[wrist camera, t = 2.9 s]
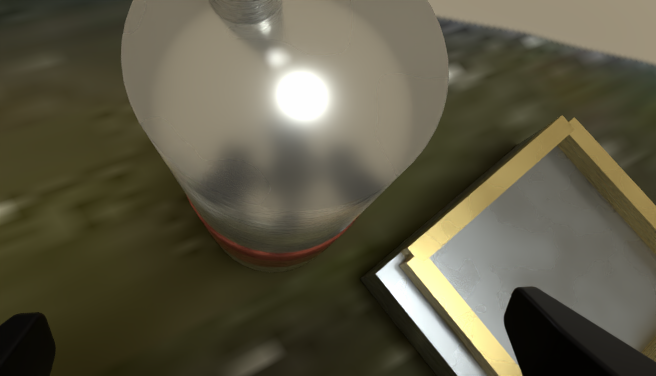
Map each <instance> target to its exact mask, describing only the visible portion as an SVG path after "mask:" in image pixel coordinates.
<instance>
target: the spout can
mask: <svg viewBox="0 0 656 376" xmlns="http://www.w3.org/2000/svg"><path fill="white" fill-rule="evenodd" d="M121 64H122V72H123V79H124V84H125V88H126V91H127V95H128V98H129V101H130V104H131V106H132V108H133V110H134V113H135V115H136V117H137V119H138V121H139V123H140V125H141V126H142V128H143V129H144V131H145V132H146V134H147V135H148V137H149V138H150V140H151V141H152V143H153V144H154V146H155V147H156V149H157V150H158V152H159V154H160V155H161V157H162V158H163V160H164V161H165V163H166V164H167V166H168V167H169V169H170V170H171V172H172V173H173V175H174V176H175V178H176V179H177V181H178V183H179V184H180V186H181V187H182V189H183V190H184V192H185V193H186V195H187V198H188V200H189V202H190V204H191V206H192V207H193V209H194V210H195V212H196V213H197V215H198V216H199V218H200V219H201V221H202V222H203V224H204V225H205V227H206V228H207V230H208V231H209V232H210V234H211V235H212V237H213V238H214V239H215V240H216V241H217V243H218V244H219V245H220V247H221V248H222V249H223V250H224V251H225V252H226V253H227V254H228V255H229V256H230V257H231V258H232V259H234V260H235V261H237V262H238V263H240V264H242V265H244V266H246V267H248V268H251V269H254V270H257V271H262V272H274V273H275V272H285V271H289V270H293V269H296V268H299V267H301V266H303V265H305V264H307V263H309V262H310V261H311V260H313V259H314V258H316V257H317V256H318V255H319V254H320V253H322V252H323V251H324V250H326V249H327V248H328V247H329V246H330V245H331V244H332V243H333V242H334V241H335V240H336V239H337V238H338V237H339V236H340V235H341V234H342V233H344V232H345V231H346V230H347V229H348V228H349V227H350V226H351V225H352V224H353V222H354V221H355V220H356V219H357V218H358V216H359V215H360V214H361V213H362V212H363V211H364V210H365V209H366V208H367V207H368V206H369V205H370V204H371V203H372V202H373V201H374V200H375V199H376V198H377V197H378V196H379V195H380V194H381V193H382V192H383V191H384V190H385V189H386V188H387V187H388V186H389V185H390V184H391V183H392V182H393V181H394V180H395V179H396V178H397V177H398V176H399V175H400V174H401V173H402V172H403V171H404V170H405V169H406V168H407V167H408V166H409V165H410V164H411V163H412V162H413V161H414V160H415V159H416V158H417V156H418V155H419V154H420V153H421V152H422V150H423V149H424V148H425V147H426V145H427V143H428V142H429V140H430V138H431V137H432V135H433V133H434V132H435V130H436V127H437V125H438V123H439V120H440V118H441V115H442V113H443V109H444V105H445V101H446V97H447V89H448V79H449V71H448V56H447V50H446V45H445V40H444V37H443V34H442V31H441V28H440V24H439V22H438V20H437V18H436V16H435V14H434V11H433V9H432V7H431V6H430V4H429V2H428V1H427V0H133V2H132V4H131V7H130V10H129V13H128V16H127V19H126V22H125V26H124V32H123V37H122V48H121Z"/></svg>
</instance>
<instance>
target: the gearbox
mask: <svg viewBox="0 0 656 376" xmlns="http://www.w3.org/2000/svg"><path fill="white" fill-rule="evenodd" d="M360 280H361V281H362V282H363V284H364V285H365V286H366V287H367V289H368V290H369V291H370V292H371V294H372V295H373V296H374V297H375V299H376V300H377V301H378V302H379V304H380V305H381V306H382V307H383V309H384V310H385V311H386V312H387V314H388V315H389V316H390V317H391V319H392V320H393V321H394V323H395V324H396V325H397V326H398V328H399V329H400V330H401V331H402V333H403V334H404V335H405V336H406V338H407V339H408V340H409V341H410V343H411V344H412V345H413V346H414V348H415V349H416V350H417V351H418V353H419V354H420V355H421V356H422V358H423V359H424V360H425V361H426V363H427V364H428V365H429V366H430V368H431V369H432V370H433V371H434V373H435V374H436V375H437V376H522V373H521V370H520V367H519V365H518V362H517V359H516V357H515V354H514V351H513V349H512V346H511V343H510V340H509V338H508V335H507V332H506V330H505V326H504V313H505V310H506V308H507V305H508V302H509V299H510V296H511V294H512V291H513V290H514V289H515V288H517V287H528V286H533V287H537V288H538V289H540V290H542V291H543V292H545V293H547V294H548V295H550V296H551V297H553V298H555V299H556V300H558V301H559V302H561V303H563V304H564V305H566V306H567V307H569V308H571V309H572V310H574V311H575V312H577V313H579V314H580V315H582V316H583V317H585V318H587V319H588V320H590V321H591V322H593V323H595V324H596V325H598V326H599V327H601V328H603V329H604V330H606V331H607V332H609V333H611V334H612V335H614V336H615V337H617V338H619V339H620V340H622V341H623V342H625V343H627V344H628V345H630V346H631V347H633V348H635V349H636V350H638V351H639V352H641V353H643V354H644V355H646V356H647V357H649V358H651V359H652V360H654V361H655V362H656V206H655V205H654V204H653V202H652V201H651V200H650V199H649V198H648V197H647V196H646V195H645V194H644V193H643V192H642V190H641V189H640V188H639V187H638V186H637V185H636V184H635V183H634V182H633V181H632V180H631V178H630V177H629V176H628V175H627V174H626V173H625V172H624V171H623V170H622V169H621V168H620V166H619V165H618V164H617V163H616V162H615V161H614V160H613V159H612V158H611V157H610V156H609V155H608V153H607V152H606V151H605V150H604V149H603V148H602V147H601V146H600V145H599V144H598V143H597V141H596V140H595V139H594V138H593V137H592V136H591V135H590V134H589V133H588V132H587V131H586V129H585V128H584V127H583V126H582V125H581V124H580V123H579V122H578V121H577V120H576V119H575V117H574V118H572V119H571V120H569V121H567V120H566V119H565V118H564V117H563V116H560V117H559V118H557V119H556V120H554V121H553V122H551V123H550V124H548V125H547V126H546V127H544V128H542V129H541V130H539V131H538V132H536V133H535V134H533V135H532V136H530V137H529V138H527V139H526V140H524V141H522V142H521V143H519V144H518V145H517V146H516V147H514V148H513V149H512V150H511V151H510V152H508V153H507V154H506V155H505V156H504V157H503V158H501V159H500V160H499V161H498V162H497V163H496V164H494V165H493V166H492V167H491V168H490V169H488V170H487V171H486V172H485V173H484V174H483V175H481V176H480V177H479V178H478V179H477V180H476V181H474V182H473V183H472V184H471V185H470V186H468V187H467V188H466V189H465V190H464V191H463V192H461V193H460V194H459V195H458V196H457V197H456V198H454V199H453V200H452V201H451V202H450V203H448V204H447V205H446V206H445V207H444V208H443V209H441V210H440V211H439V212H438V213H437V214H436V215H434V216H433V217H432V218H431V219H430V220H428V221H427V222H426V223H425V224H424V225H423V226H421V227H420V228H419V229H418V230H417V231H416V232H414V233H413V234H412V235H411V236H410V237H408V238H407V239H406V240H405V241H404V242H403V243H401V244H400V245H399V246H398V247H397V248H396V249H394V250H393V251H392V252H391V253H390V254H388V255H387V256H386V257H385V258H384V259H383V260H381V261H380V262H379V263H378V264H377V265H376V266H374V267H373V268H372V269H371V270H370V271H368V272H367V273H366V274H365V275H364V276H363V277H361V278H360Z"/></svg>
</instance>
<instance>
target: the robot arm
mask: <svg viewBox="0 0 656 376" xmlns="http://www.w3.org/2000/svg"><path fill="white" fill-rule="evenodd" d="M504 326H505V330H506V332H507V335H508V338H509V340H510V343H511V346H512V349H513V351H514V354H515V357H516V359H517V362H518V365H519V367H520V370H521V373H522V376H656V362H655V361H654V360H652V359H651V358H649V357H647V356H646V355H644V354H643V353H641V352H639V351H638V350H636V349H635V348H633V347H631V346H630V345H628V344H627V343H625V342H623V341H622V340H620V339H619V338H617V337H615V336H614V335H612V334H611V333H609V332H607V331H606V330H604V329H603V328H601V327H599V326H598V325H596V324H595V323H593V322H591V321H590V320H588V319H587V318H585V317H583V316H582V315H580V314H579V313H577V312H575V311H574V310H572V309H571V308H569V307H567V306H566V305H564V304H563V303H561V302H559V301H558V300H556V299H555V298H553V297H551V296H550V295H548V294H547V293H545V292H543V291H542V290H540V289H538V288H537V287H533V286H528V287H517V288H515V289H514V290H513V291H512V294H511V296H510V299H509V302H508V305H507V308H506V310H505V313H504ZM55 349H56V348H55V342H54V339H53V336H52V333H51V331H50V328H49V325H48V322H47V319H46V317H45V315H44V314H42V313H39V312H36V313H20V314H16V315H14V316H12V317H11V318H9V319H8V320H7V321H5V322H4V323H3V324H2V325H0V376H50V372H51V369H52V365H53V361H54V358H55Z"/></svg>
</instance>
